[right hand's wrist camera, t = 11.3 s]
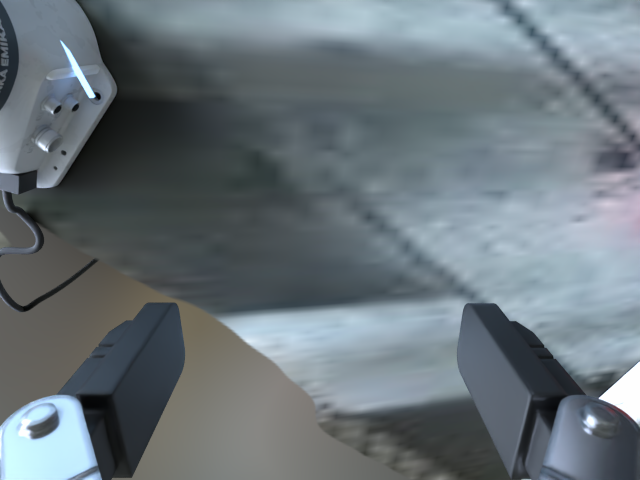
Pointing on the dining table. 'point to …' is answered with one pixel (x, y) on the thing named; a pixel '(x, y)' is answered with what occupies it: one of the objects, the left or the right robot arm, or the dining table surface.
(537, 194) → the dining table surface
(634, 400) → the relief map
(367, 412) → the dining table surface
